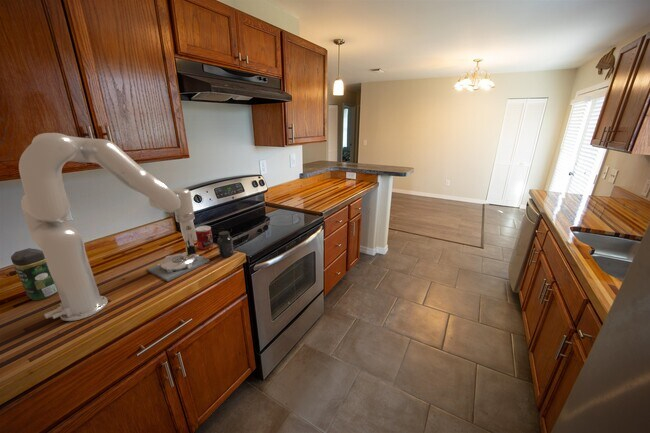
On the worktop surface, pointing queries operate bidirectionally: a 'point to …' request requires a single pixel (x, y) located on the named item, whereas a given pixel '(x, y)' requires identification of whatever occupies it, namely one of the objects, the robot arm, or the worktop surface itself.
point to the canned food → (204, 237)
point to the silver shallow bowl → (177, 262)
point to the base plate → (170, 276)
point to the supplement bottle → (225, 244)
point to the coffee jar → (34, 273)
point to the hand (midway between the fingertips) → (191, 253)
